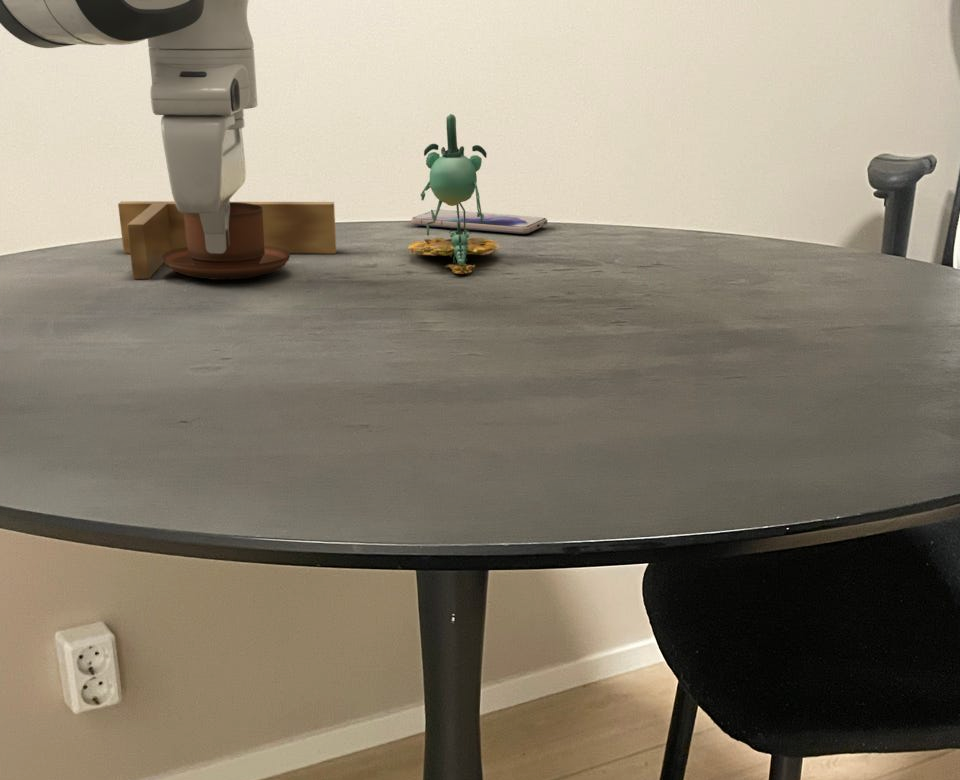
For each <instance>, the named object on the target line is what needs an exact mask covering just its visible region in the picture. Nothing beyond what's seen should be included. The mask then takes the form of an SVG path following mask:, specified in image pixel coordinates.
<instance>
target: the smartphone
mask: <svg viewBox="0 0 960 780" xmlns="http://www.w3.org/2000/svg"><path fill="white" fill-rule="evenodd" d="M432 210H433V213H434V215H435V214H436V210H437V209H432ZM477 212H478V211H476V212H475V211H465V228H466V230H469V231H484V232H495V233H496V232H497V233H507V234H518V235H526V234H529V233H531V232H534V231H536V230H538V229H540V228H543V227H545V226H547V225H548V219H547V218H546V217H539V216H526V215H515V214H501V213H490V212H488V213H487V212H481V213H482V214H483V215H484V218H483V221H480V219H481V216H480V217H477ZM459 220H460V228H461V230H464V212H463V210H459ZM432 221H434V220H433V219H432V214H431V210H430V211H427V212H425V213H421V214H419V215H416V216H413V217H412V218H411V224H412V225H414V226H424V227H427V223H429V222H432ZM457 221H458V217H457V210H449V209H440V210H439V212H438V215H437V218H436V221H435V223H433V224H430V225H429V227H435V228H436V227H437V228H446V229H457Z"/></svg>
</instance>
